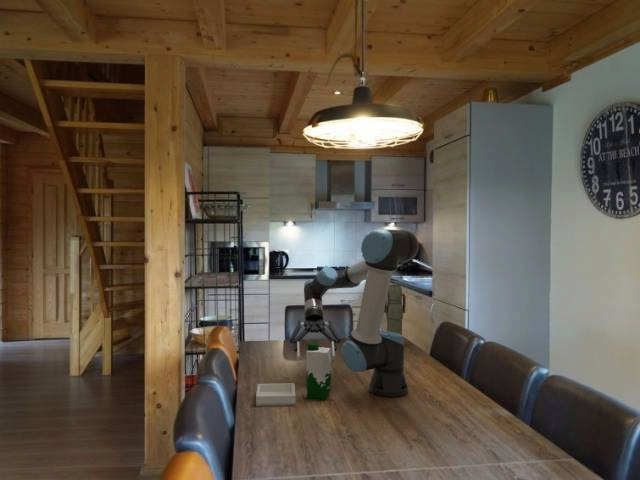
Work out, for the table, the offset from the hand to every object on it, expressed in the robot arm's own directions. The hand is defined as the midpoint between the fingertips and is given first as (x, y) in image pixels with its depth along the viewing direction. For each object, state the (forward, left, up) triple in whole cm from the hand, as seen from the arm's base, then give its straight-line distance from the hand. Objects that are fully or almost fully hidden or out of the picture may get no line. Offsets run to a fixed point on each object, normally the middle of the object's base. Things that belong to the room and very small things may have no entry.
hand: (316, 358), depth 177 cm
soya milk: (-1, +4, -14) cm, 14 cm away
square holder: (+15, +5, -14) cm, 21 cm away
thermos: (-47, -64, -14) cm, 81 cm away
